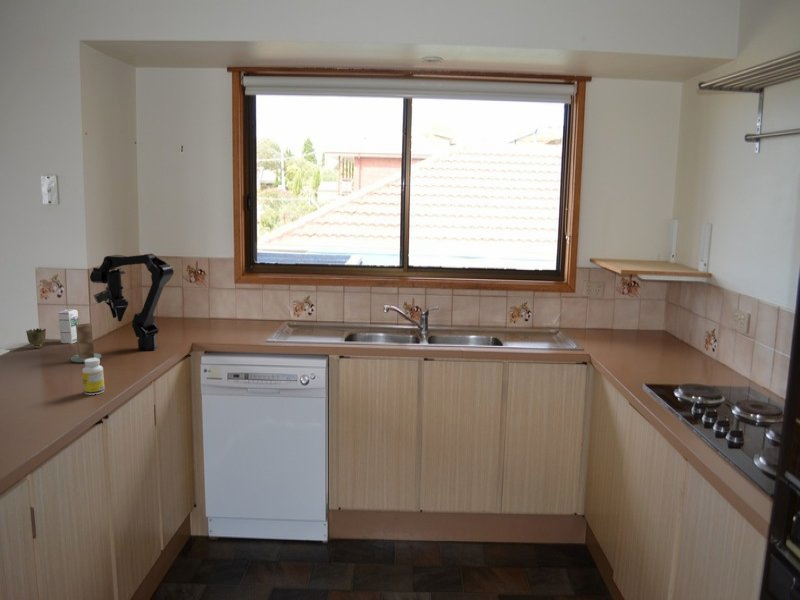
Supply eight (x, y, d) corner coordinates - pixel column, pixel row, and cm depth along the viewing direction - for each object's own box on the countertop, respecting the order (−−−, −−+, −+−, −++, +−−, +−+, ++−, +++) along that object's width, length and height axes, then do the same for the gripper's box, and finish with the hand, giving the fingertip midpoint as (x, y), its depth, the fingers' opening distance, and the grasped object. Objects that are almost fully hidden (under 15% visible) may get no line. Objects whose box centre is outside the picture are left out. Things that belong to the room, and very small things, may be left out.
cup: (51, 346, 290) (49, 328, 289) (37, 350, 284) (35, 332, 282) (38, 345, 293) (36, 327, 291) (23, 349, 286) (22, 330, 285)
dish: (105, 356, 275) (104, 352, 275) (95, 363, 265) (95, 359, 264) (77, 356, 274) (77, 353, 274) (67, 363, 264) (66, 360, 263)
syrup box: (72, 343, 296) (69, 311, 293) (60, 343, 297) (57, 311, 294) (80, 340, 301) (78, 309, 299) (69, 340, 302) (66, 308, 300)
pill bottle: (88, 389, 231) (85, 357, 229) (107, 389, 232) (105, 357, 230) (81, 395, 225) (78, 362, 223) (100, 395, 225) (98, 362, 223)
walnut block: (91, 354, 273) (89, 323, 270) (94, 356, 269) (91, 325, 266) (78, 356, 270) (75, 324, 268) (80, 358, 266) (78, 326, 264)
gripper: (89, 283, 290) (92, 318, 292) (99, 288, 275) (102, 325, 277) (116, 281, 296) (119, 315, 299) (127, 286, 281) (129, 322, 284)
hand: (117, 319), depth 290 cm, fingers open, 9 cm apart
